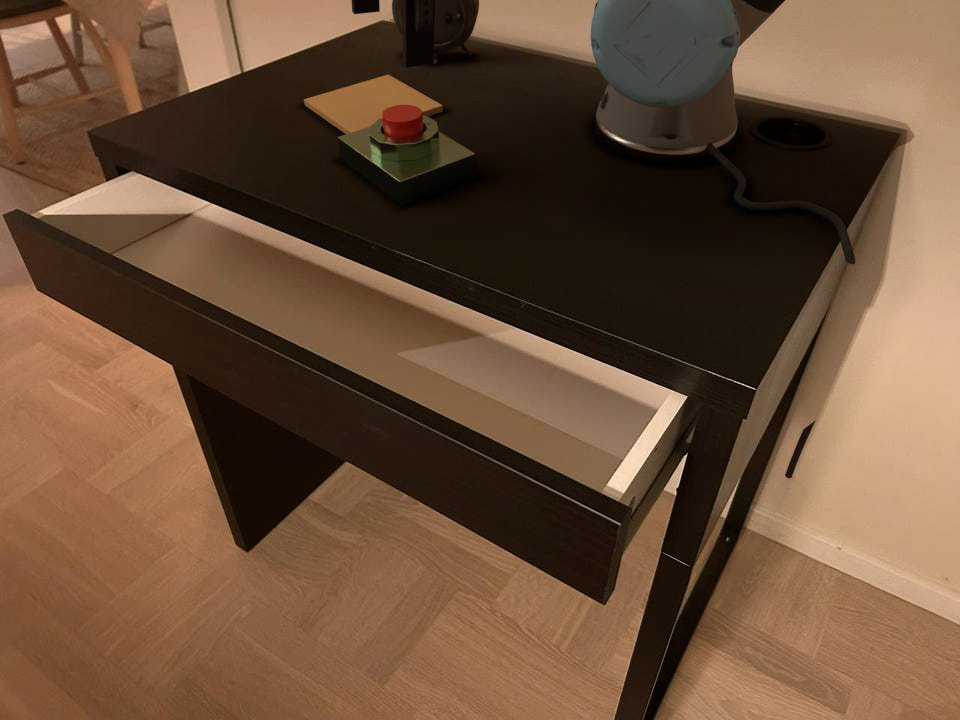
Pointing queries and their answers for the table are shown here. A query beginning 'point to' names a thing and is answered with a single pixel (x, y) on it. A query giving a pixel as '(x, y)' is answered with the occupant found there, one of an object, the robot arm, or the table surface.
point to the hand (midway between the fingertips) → (390, 36)
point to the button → (402, 121)
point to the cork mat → (368, 103)
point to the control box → (407, 161)
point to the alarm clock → (446, 23)
